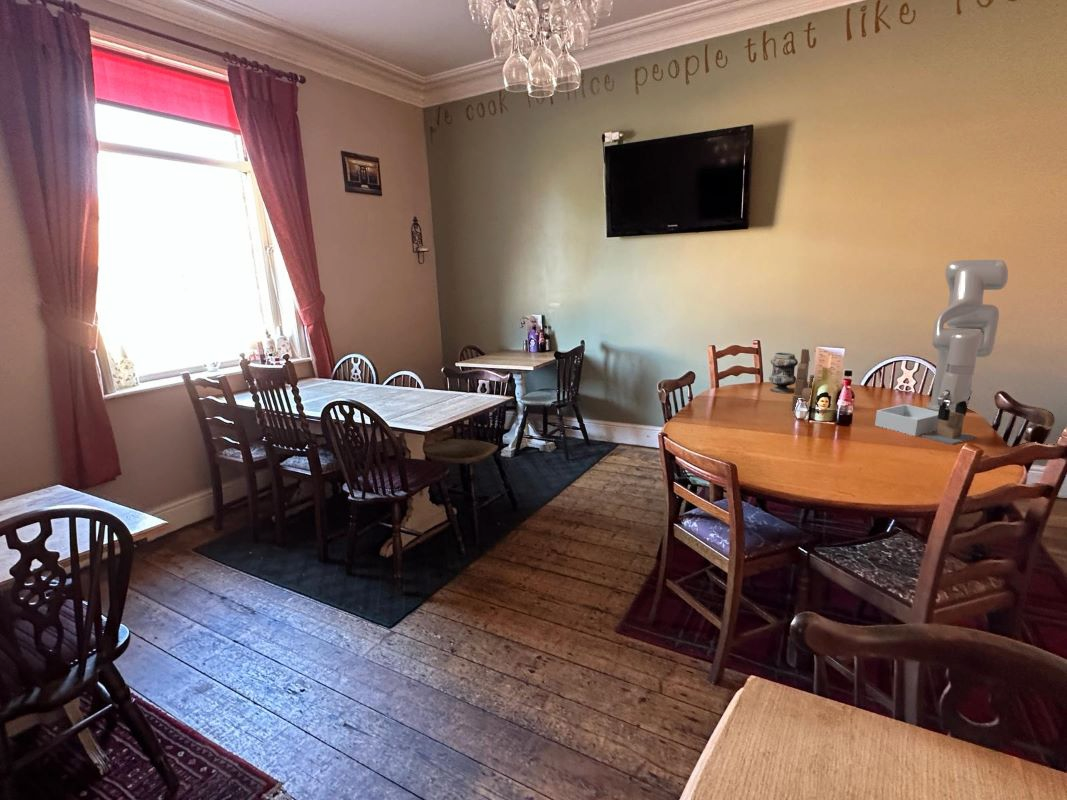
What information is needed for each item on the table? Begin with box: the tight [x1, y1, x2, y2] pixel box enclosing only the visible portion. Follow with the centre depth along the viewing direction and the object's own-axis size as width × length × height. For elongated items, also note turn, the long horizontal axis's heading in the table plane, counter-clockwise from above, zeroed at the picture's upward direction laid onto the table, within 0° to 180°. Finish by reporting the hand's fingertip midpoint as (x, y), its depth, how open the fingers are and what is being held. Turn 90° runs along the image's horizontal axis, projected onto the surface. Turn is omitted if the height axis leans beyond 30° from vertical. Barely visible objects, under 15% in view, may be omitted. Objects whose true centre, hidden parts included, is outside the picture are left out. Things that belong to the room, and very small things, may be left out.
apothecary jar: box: [768, 351, 799, 394], centre depth 257 cm, size 12×12×18 cm
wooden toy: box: [791, 348, 815, 412], centre depth 228 cm, size 16×7×25 cm, turn 144°
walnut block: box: [937, 411, 965, 439], centre depth 188 cm, size 5×5×8 cm
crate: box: [874, 403, 939, 437], centre depth 201 cm, size 17×15×6 cm
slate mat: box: [920, 431, 977, 445], centre depth 189 cm, size 14×10×1 cm
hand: (951, 417), depth 188 cm, fingers open, 9 cm apart
